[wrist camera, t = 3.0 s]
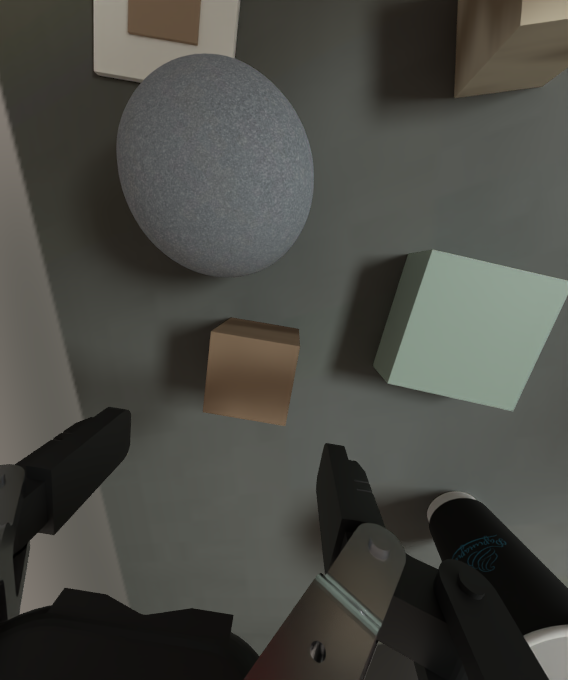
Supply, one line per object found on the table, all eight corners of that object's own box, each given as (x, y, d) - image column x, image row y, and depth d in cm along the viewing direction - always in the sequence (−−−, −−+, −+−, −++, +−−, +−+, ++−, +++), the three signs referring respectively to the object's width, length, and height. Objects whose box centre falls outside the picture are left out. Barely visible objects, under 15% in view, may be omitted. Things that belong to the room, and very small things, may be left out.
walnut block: (231, 317, 22) (210, 331, 17) (298, 328, 22) (300, 346, 17) (223, 380, 23) (202, 412, 18) (287, 390, 23) (285, 425, 18)
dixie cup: (435, 464, 24) (544, 613, 14) (514, 493, 25) (680, 660, 14) (395, 530, 26) (464, 707, 16) (469, 556, 27) (586, 745, 16)
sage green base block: (406, 253, 21) (432, 249, 17) (521, 280, 21) (573, 282, 17) (371, 364, 23) (387, 383, 19) (476, 387, 23) (512, 411, 19)
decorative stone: (146, 169, 20) (2, 68, 10) (273, 97, 18) (249, -100, 9) (212, 297, 22) (145, 317, 12) (330, 241, 20) (363, 212, 11)
